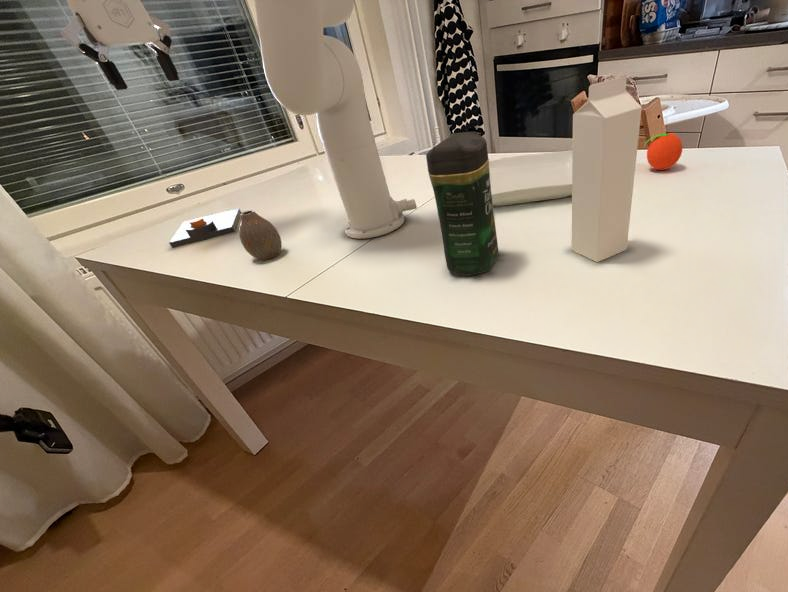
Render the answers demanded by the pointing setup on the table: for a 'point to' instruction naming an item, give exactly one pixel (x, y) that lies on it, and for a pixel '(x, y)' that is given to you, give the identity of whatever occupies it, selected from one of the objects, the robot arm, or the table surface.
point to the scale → (207, 228)
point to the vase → (259, 236)
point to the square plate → (531, 178)
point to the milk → (604, 169)
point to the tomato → (664, 151)
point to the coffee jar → (464, 202)
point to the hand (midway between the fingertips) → (149, 84)
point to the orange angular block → (197, 222)
